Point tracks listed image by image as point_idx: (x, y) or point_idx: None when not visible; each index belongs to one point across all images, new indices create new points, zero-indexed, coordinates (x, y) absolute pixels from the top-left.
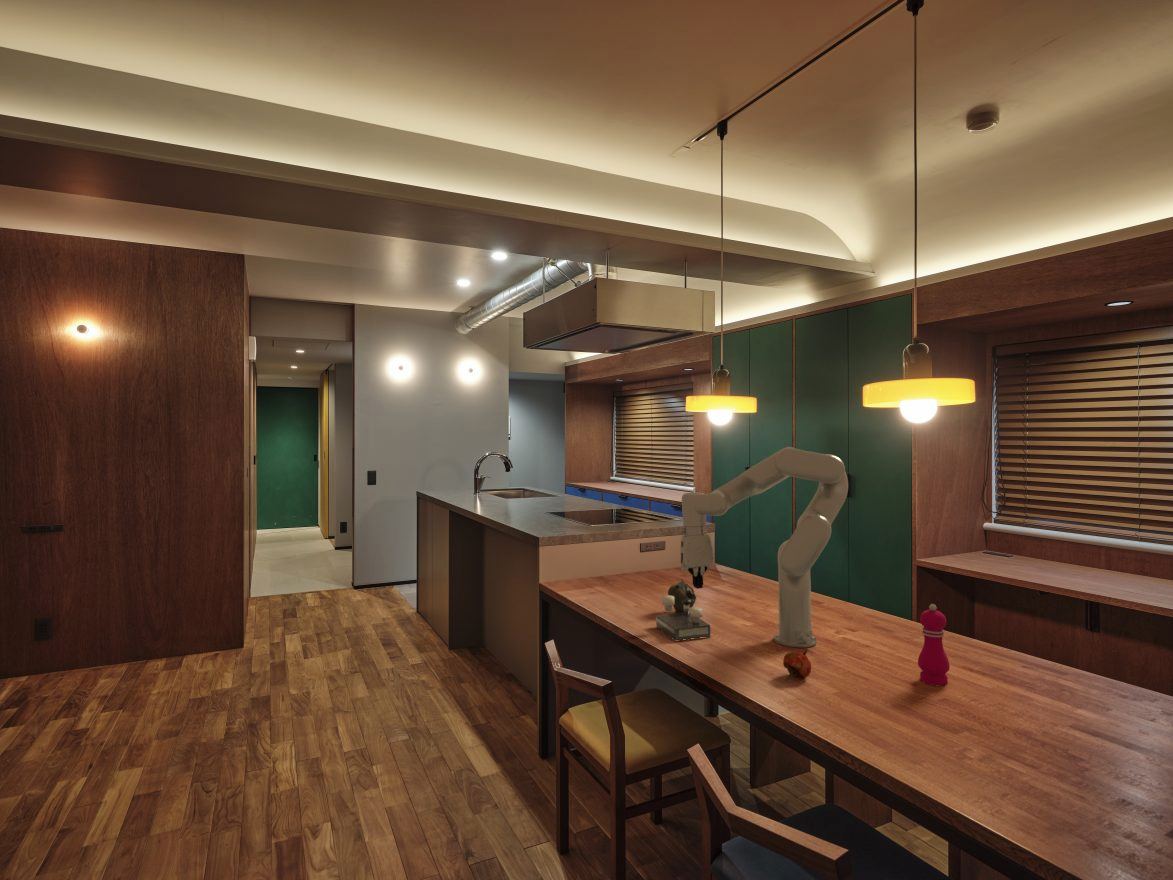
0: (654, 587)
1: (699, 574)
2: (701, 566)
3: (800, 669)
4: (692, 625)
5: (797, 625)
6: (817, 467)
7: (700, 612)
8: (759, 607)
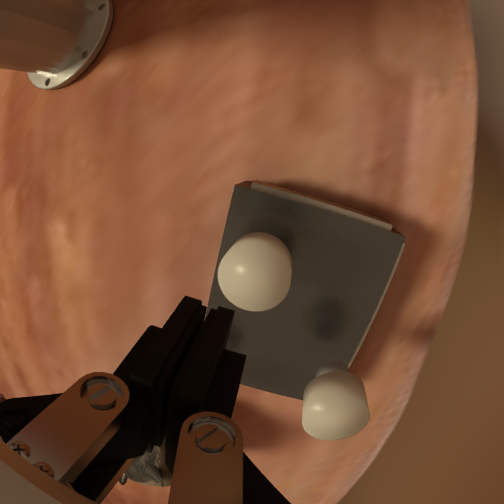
0: (139, 496)
1: (143, 415)
2: (59, 486)
3: None
4: (309, 229)
5: None
6: None
7: (251, 239)
8: (4, 310)
